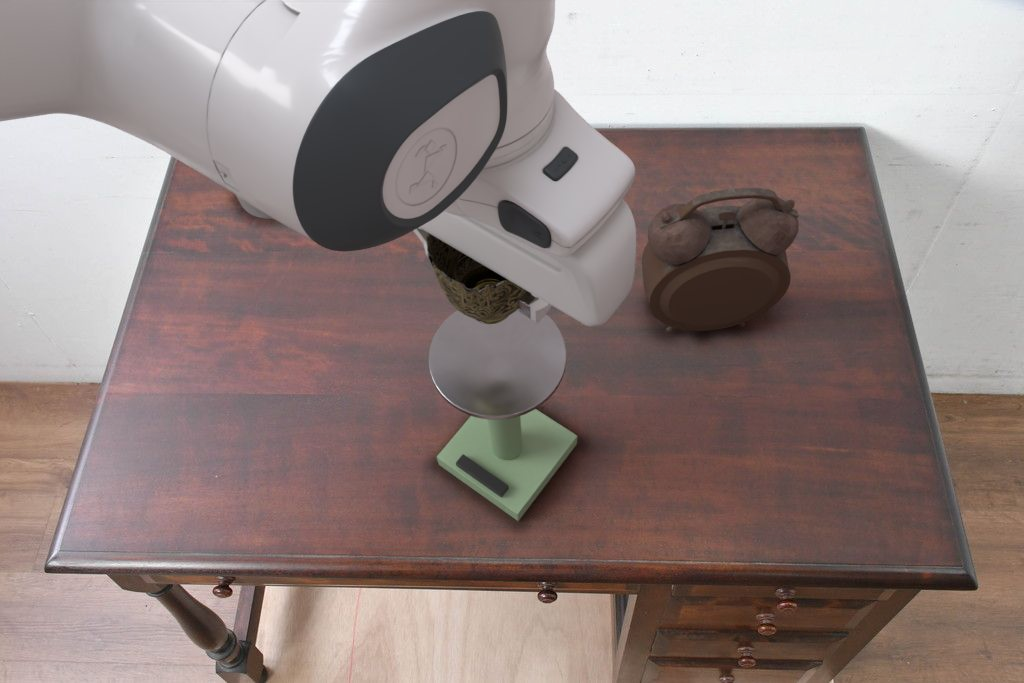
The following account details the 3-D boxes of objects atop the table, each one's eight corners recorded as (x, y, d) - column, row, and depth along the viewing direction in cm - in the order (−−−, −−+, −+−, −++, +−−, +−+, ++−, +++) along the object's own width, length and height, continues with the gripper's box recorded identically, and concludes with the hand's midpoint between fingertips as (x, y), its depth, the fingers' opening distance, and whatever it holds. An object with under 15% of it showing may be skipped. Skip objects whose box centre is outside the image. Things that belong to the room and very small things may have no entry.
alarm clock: (756, 280, 90) (805, 153, 73) (772, 334, 86) (827, 213, 69) (628, 291, 90) (647, 165, 73) (638, 345, 86) (661, 226, 69)
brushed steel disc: (512, 451, 61) (511, 443, 59) (403, 378, 64) (400, 368, 63) (592, 350, 65) (593, 340, 64) (486, 287, 69) (485, 276, 67)
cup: (426, 340, 56) (410, 272, 49) (455, 258, 60) (443, 185, 53) (529, 359, 55) (527, 293, 48) (552, 275, 59) (552, 202, 52)
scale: (518, 521, 77) (511, 447, 62) (438, 464, 80) (413, 381, 65) (577, 444, 81) (583, 357, 66) (498, 393, 84) (487, 299, 69)
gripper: (295, 92, 45) (347, 243, 57) (595, 256, 38) (583, 391, 50) (369, 32, 48) (404, 189, 60) (663, 177, 41) (637, 322, 53)
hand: (488, 282), depth 55 cm, fingers closed on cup, 7 cm apart
